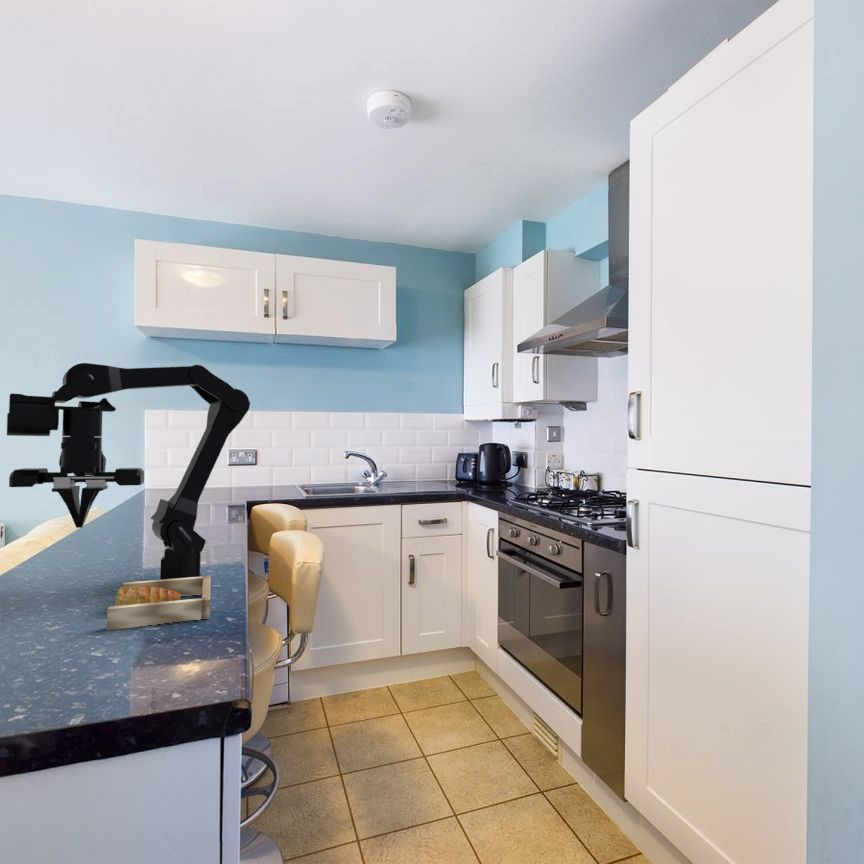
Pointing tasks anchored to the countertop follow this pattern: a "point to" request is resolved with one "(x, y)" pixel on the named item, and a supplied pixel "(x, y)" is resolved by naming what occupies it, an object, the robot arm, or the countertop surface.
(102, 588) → the countertop surface
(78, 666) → the countertop surface
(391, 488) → the countertop surface
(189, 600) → the beige piece
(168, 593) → the pastry
